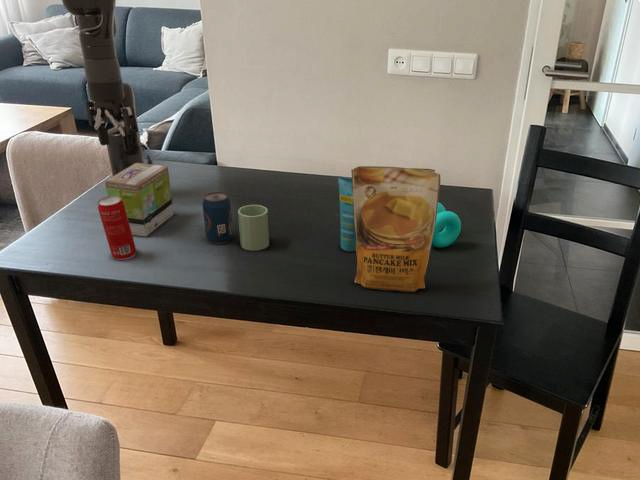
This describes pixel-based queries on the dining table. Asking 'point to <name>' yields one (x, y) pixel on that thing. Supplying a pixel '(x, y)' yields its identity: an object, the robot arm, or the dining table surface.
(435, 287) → the dining table surface
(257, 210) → the tumbler
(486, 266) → the dining table surface
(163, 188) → the tea box
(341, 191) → the tube
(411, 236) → the pancake mix bag
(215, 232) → the soda can
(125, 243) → the beverage can
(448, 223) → the donuts
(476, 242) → the dining table surface
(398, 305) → the dining table surface
